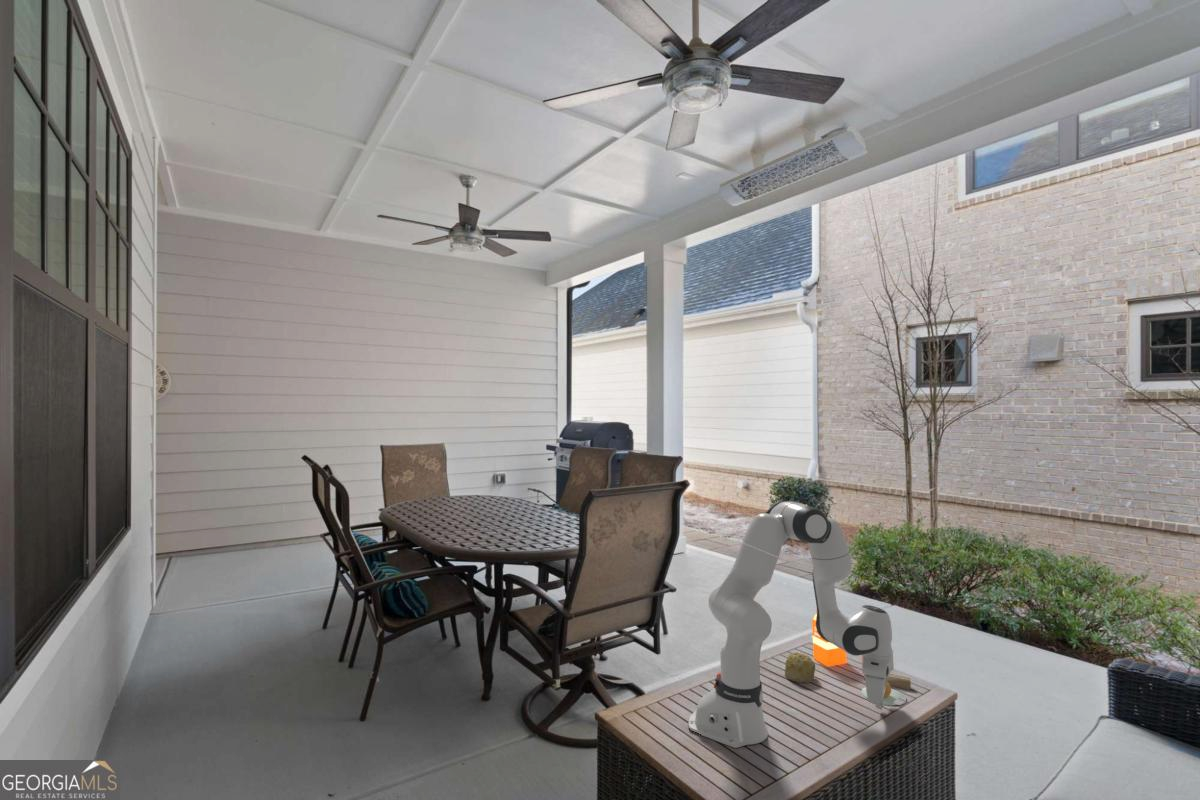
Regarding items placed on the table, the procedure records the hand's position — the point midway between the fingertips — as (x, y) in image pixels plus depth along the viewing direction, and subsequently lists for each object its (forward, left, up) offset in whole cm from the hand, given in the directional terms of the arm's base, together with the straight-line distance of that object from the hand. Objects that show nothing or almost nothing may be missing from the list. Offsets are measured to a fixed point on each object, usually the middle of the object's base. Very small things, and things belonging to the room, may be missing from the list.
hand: (879, 706), depth 164 cm
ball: (+1, +12, +1) cm, 12 cm away
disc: (+1, +12, -2) cm, 12 cm away
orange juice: (-17, +33, -2) cm, 37 cm away
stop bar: (+2, +22, -2) cm, 22 cm away
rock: (-25, +14, -2) cm, 29 cm away
